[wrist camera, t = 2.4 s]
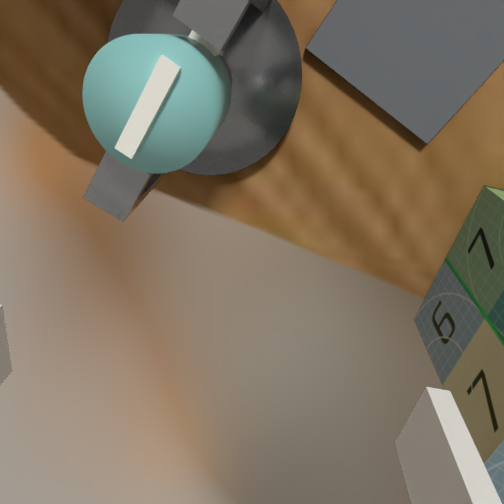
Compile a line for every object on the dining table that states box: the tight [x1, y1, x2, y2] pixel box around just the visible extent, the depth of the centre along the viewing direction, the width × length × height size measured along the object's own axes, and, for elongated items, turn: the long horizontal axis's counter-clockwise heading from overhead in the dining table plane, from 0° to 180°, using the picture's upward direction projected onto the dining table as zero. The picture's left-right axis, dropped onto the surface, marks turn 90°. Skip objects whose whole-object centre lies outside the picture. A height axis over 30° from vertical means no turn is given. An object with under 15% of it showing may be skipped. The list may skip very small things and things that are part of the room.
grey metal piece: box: [83, 0, 302, 221], centre depth 28 cm, size 16×16×14 cm
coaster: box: [306, 0, 504, 144], centre depth 31 cm, size 13×13×1 cm
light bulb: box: [82, 30, 231, 174], centre depth 23 cm, size 11×7×7 cm, turn 146°
